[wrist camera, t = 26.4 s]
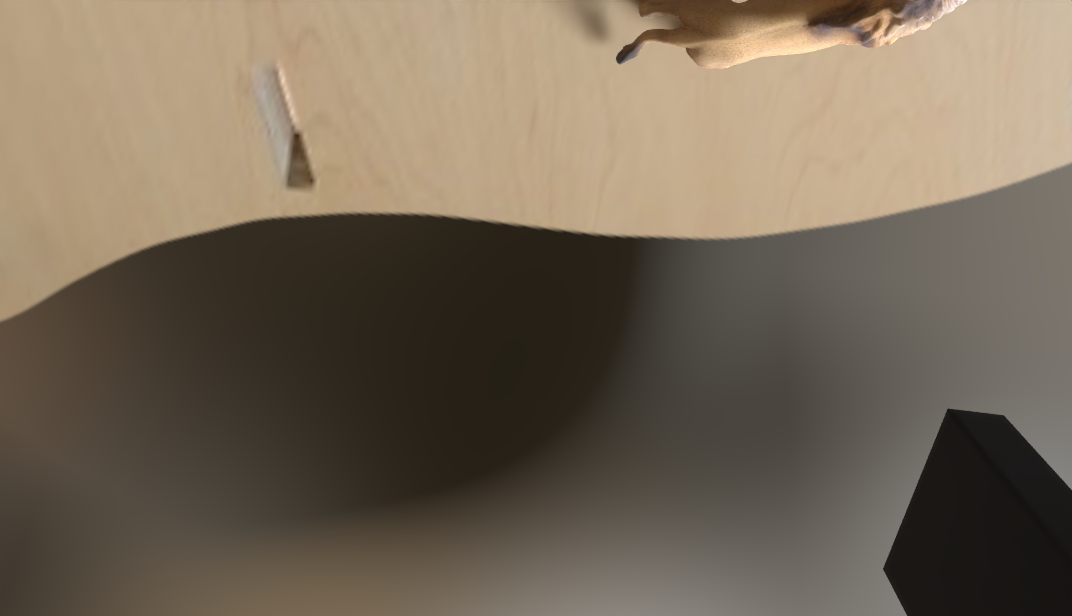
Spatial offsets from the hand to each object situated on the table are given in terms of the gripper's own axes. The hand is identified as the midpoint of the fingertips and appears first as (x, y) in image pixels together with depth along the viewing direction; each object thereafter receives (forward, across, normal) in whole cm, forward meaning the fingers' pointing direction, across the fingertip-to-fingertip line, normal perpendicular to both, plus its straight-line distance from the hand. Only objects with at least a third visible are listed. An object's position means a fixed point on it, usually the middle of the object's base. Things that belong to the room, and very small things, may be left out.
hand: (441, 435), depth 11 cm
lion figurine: (+35, +12, +4) cm, 37 cm away
